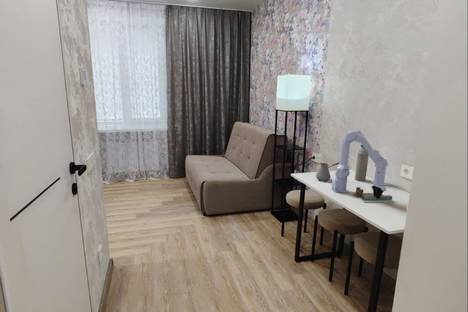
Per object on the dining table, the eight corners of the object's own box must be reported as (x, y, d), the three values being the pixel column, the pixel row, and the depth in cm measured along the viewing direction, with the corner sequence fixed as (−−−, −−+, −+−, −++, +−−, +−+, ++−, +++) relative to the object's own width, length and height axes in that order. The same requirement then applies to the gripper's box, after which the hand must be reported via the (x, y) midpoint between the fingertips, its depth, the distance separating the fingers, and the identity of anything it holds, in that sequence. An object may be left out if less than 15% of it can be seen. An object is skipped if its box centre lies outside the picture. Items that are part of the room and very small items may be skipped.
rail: (363, 199, 189) (363, 196, 189) (361, 198, 192) (361, 195, 191) (391, 199, 191) (392, 196, 190) (389, 198, 193) (390, 195, 192)
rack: (356, 197, 197) (357, 189, 195) (353, 194, 201) (353, 187, 200) (383, 197, 198) (384, 189, 196) (379, 194, 203) (380, 187, 201)
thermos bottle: (366, 179, 235) (370, 145, 228) (364, 182, 228) (369, 146, 222) (355, 177, 239) (359, 143, 232) (353, 180, 232) (357, 145, 226)
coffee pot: (318, 182, 226) (320, 163, 223) (313, 177, 237) (314, 159, 234) (345, 181, 229) (347, 162, 225) (338, 177, 240) (340, 159, 236)
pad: (364, 202, 187) (364, 201, 187) (358, 198, 194) (359, 197, 194) (394, 202, 189) (394, 201, 188) (388, 198, 195) (388, 197, 195)
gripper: (392, 181, 181) (389, 201, 184) (379, 174, 195) (376, 193, 198) (381, 181, 180) (378, 202, 184) (369, 174, 195) (366, 193, 198)
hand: (376, 197), depth 191 cm, fingers closed on rail, 2 cm apart
